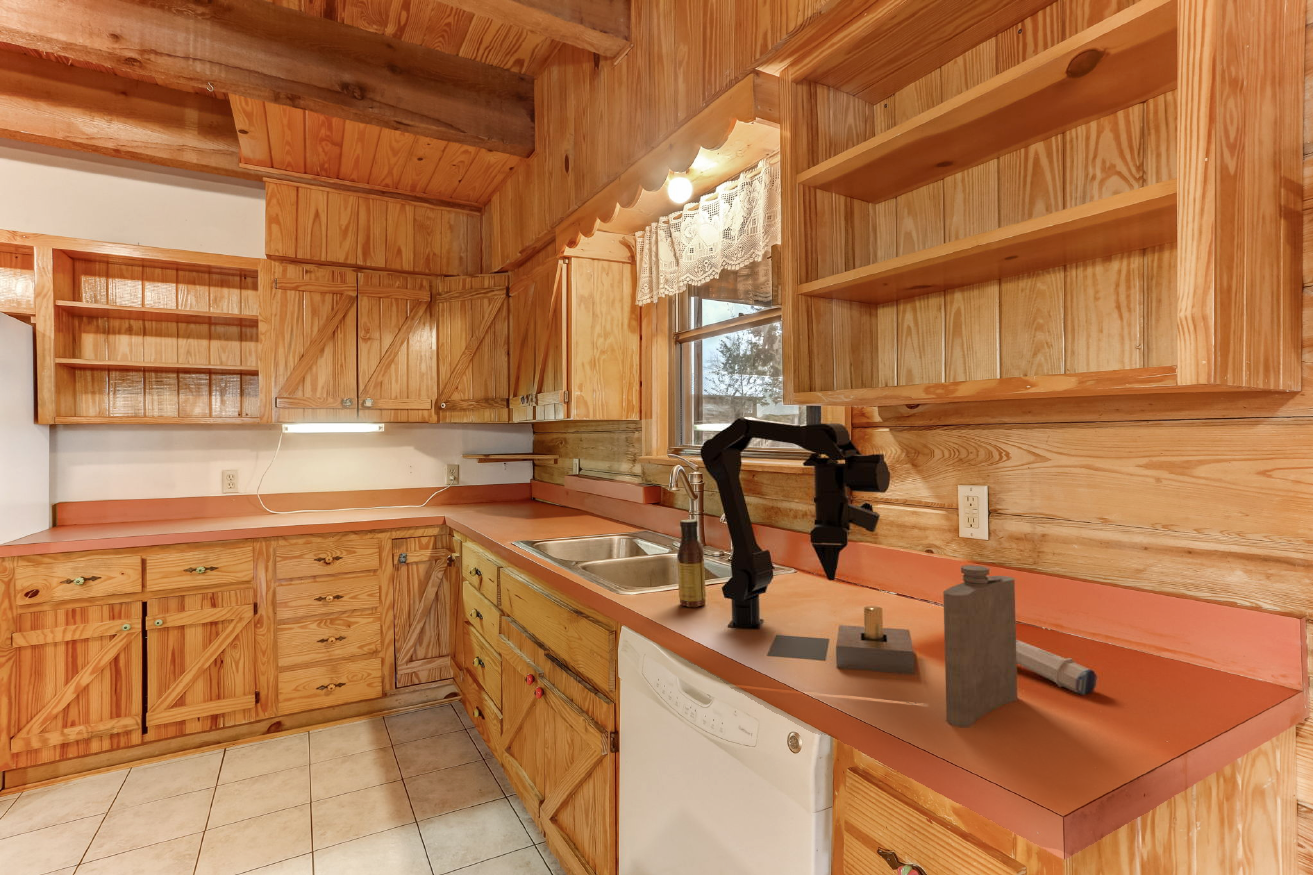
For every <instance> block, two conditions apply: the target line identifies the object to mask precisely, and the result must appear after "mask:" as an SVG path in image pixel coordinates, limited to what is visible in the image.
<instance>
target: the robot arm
mask: <svg viewBox="0 0 1313 875" xmlns="http://www.w3.org/2000/svg"><path fill="white" fill-rule="evenodd" d="M753 438H755V439H759V440H767V441H773V442H780V443H785V444H786V443H787V444H792V445H795V446H798V447H800V448H802V449H804V450H805V451H808V452H811V453H810V456H809V457H808V458H807V459H806V460H805V461H804V462H803V463H802V465H803V466H804V467H813V475H814V478H813V479H814V496H813V503H814V509H815V510H814V514H815V516H814V517H815V518H814V527H813V528H812V529H811V530H810V531H809V532H810V533H809V535H810V543H811V546H812V547H813V549H814V551H815V554H816V555H817V558H818V560H819V563H820V564H821V568H822V569H823V572H824V575H825V576H826V578H827V580H828V581H834V580H835V579H836V572H837V569H838V565H839V558H840V554H841V551H842V550H844V548H847V546H848V542H849V535H850V531H851V524H852V525H854V526H857V527H860V528H863V529H865V530H866V532H871V533H874V532H875V531H876V529H877V528H876V527H877V525H878V523H879V520H880V517H881V516H880V515H881V514H880V513H878V512H877V511H874V509H873V504H871V503H870V502H869V503H868V502H866V501H864V502H863V503H862V504H860V505H857V504H853V503H850V499H849V498H850V496H848V494H847V488H849V490H850V491H851V492H858V493H859V492H860V493H882V494H883V493H886V492H887V490H888V489H889V487H890V483H891V482H890V481H891V473H890V472H891V471H889V467H888V464H887V462H886V461H885V455H884V454H883V453H874V454H873V453H871V454H862V452H861V451H860V450H859V449H858V447H857V446H856V445H855V444H854V442H853V441H852V440H851V439H850V438H851V436H850V434H849V431H848V429H847V427H846V426H845V425H844V424H842V423H836V422H835V423H834V422H833V423H832V422H831V423H829V422H828V423H820V422H819V423H807V424H796V423H789V422H782V421H775V420H774V421H772V420H765V419H759V418H755V417H745V416H744V417H737V419H735V420H734V421H733V422H732V423H731V424H729V426H727V427H726V428H724V429H722V430H721V431H719V432H718V433H716V434H715V435H714V436H713V437H711V438H709V439H706V440H705V441H704V443H703V444H702V446H701V448H700V450H699V452H700V458H701V460H702V462H703V465H704V468H705V469H706V472H707V473H708V474H709V475H710V476H711V478H712V479H713V480H714V481H715V483H716V486H717V490H718V494H719V498H720V501H721V505H722V510H723V513H724V517H725V522H726V525H727V530H728V532H729V537H730V541H731V544H732V548H733V549H732V550H733V551H732V556H731V561H730V569H731V570H730V571H731V577H730V578H729V579H728V580H727V581H726V583H724V584H723V586H722V587H721V592H722V594H723V597H724V598H725V599H728V600H731V620H730V622H728V625H727V628H732V629H746V630H747V629H748V630H760V628H761V627H762V625H763V624H764V621H765V620H764V619H763V618H760V617H761V614H760V612H761V611H760V595H761V594H766V593H767V590H768V586H769V585H770V584H771V583H772V580H773V579H774V570H775V569H776V568H775V566H774V564H773V561H772V558H771V553H770V550H769V549H766V550H763V549H762V548H761V547H760V546H759V545H758V543H757V540H756V536H755V531H754V528H753V525H752V521H751V518H750V513H749V510H748V506H747V502H746V498H745V495H744V491H743V487H742V484H741V479H740V474H741V468H742V464H743V463H742V453H743V452H744V451H745V450H746V449H747V448H748V447H749V445H750V443H751V441H752V440H753ZM821 455H822V456H821ZM824 455H825V456H826V457H823V456H824ZM839 461H844V462H839Z"/></svg>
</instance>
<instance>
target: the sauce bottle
mask: <svg viewBox="0 0 1313 875" xmlns="http://www.w3.org/2000/svg"><path fill="white" fill-rule="evenodd" d="M698 524H699V523H698V519H693V518H690V519H689V518H688V519H682V520H680V521H679V526H680V533H681V537H680V538H681V539H680V543H679V547H678V552H677V554H676V555H677V556H676V560H677V561H676V562H677V577H678V578H677V581H678V598H679V604H680V605H681V606H682V607H685V606H687V607H686V608H691V607H694V608H699V606H701V607H703V606H705V605H706V602H707V601H706V598H707V592H706V591H707V590H706V574H705V559H704V548H703V546H702V544H701V543H700V541H699V539H698V538H699V536H698Z"/></svg>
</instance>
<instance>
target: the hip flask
mask: <svg viewBox="0 0 1313 875" xmlns="http://www.w3.org/2000/svg"><path fill="white" fill-rule="evenodd" d="M960 573H961V574H963V575H962V581H963V582H961V583H959V584H955V585H953V586H951V587H949V588H946V589H945V590H944V591H943V595H942V596H943V597H942V598H943V624H944V625H943V629H944V630H943V631H944V664H945V666H944V667H945V668H944V669H945V671H944V672H945V676H944V677H945V702H946V703H945V706H946V707H945V709H946V711H945V712H946V722H947V723H948V724H949V725H951V726H954V727H958V728H970V727H972V726H973V725H975V724H974V723H975V722H977V721H978V720H979V719H980V718H981V717H983V716H984V715H985V714H988V713H989V712H991V711H993V710H995V709H997V708H999V707H1001V706H1004V705H1007V704H1010V703H1013V702H1016V701H1018V669H1017V668H1018V665H1017V664H1018V663H1017V661H1016V640H1017V632H1016V630H1017V628H1016V627H1017V626H1016V621H1017V620H1016V588H1015V585H1016V584H1015V578H1014V577H1011V576H1005V575H991V576H989V575H990V568H989V567H987V566H984V565H975V564H973V565H972V564H970V565H969V564H967V565H961V566H960Z"/></svg>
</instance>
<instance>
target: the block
mask: <svg viewBox="0 0 1313 875" xmlns="http://www.w3.org/2000/svg"><path fill="white" fill-rule="evenodd" d="M837 631H838V632H837V638H836V644H835V657H836V659H835V660H836V661H835V662H836V669H845V670H846V669H848V670H859V671H868V672H869V671H870V672H881V673H894V674H895V673H896V674H906V675H915V654H914V652H915V651H914V645H913V642H912V637H911V632H910V631H911V630H910V629H907V628H906V629H905V628H892V627H891V628H890V627H889V628H888V627H883V642H877V641H865V631H864V626H863V625H862V626H861V625H860V626H859V625H843V624H839V626H838V630H837Z"/></svg>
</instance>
